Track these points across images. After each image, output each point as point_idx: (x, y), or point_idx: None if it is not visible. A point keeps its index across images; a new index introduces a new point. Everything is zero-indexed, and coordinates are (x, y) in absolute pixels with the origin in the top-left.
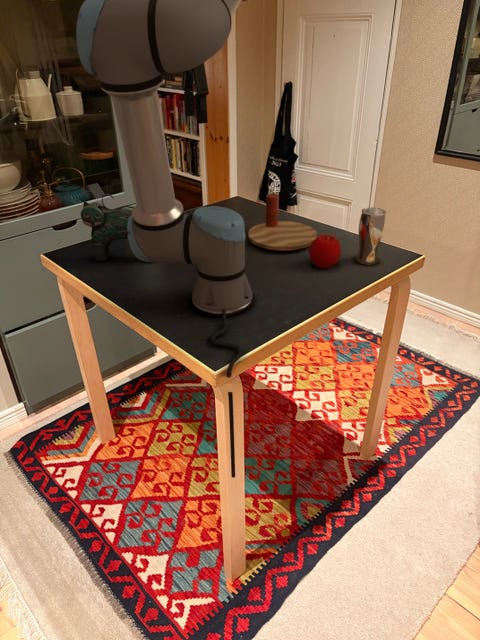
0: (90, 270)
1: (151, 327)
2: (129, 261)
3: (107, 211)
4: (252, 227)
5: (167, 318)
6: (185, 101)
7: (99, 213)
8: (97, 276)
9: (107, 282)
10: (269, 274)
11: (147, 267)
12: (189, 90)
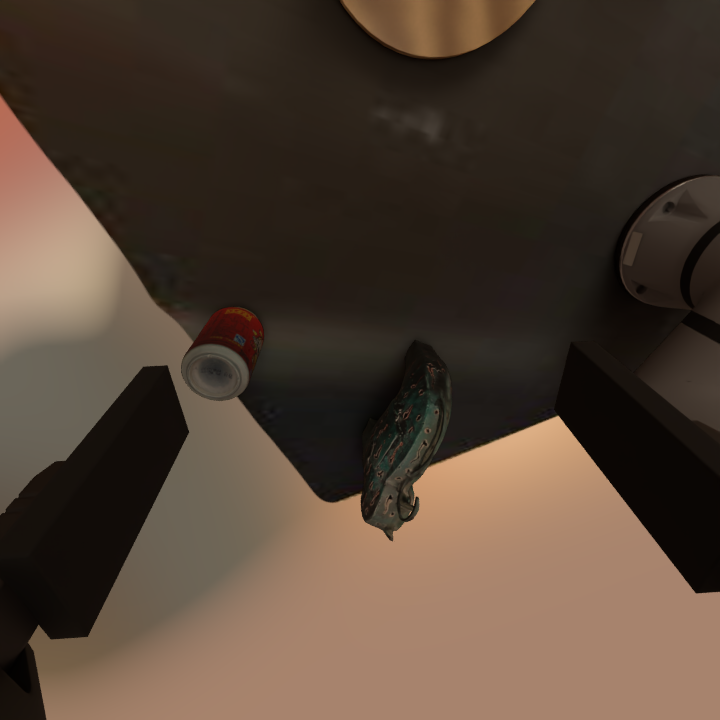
0: None
1: None
2: None
3: (400, 485)
4: (348, 7)
5: None
6: (140, 528)
7: (413, 499)
8: (450, 436)
9: (481, 422)
10: (639, 78)
11: (452, 357)
12: (5, 603)
